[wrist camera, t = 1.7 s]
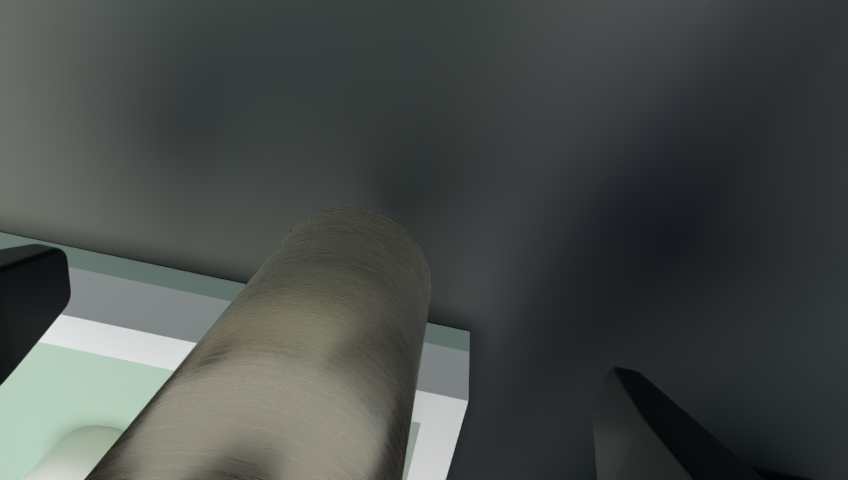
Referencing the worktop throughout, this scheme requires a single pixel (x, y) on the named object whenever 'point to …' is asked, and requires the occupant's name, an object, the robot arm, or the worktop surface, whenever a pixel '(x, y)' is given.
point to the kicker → (297, 367)
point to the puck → (75, 454)
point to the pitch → (172, 361)
